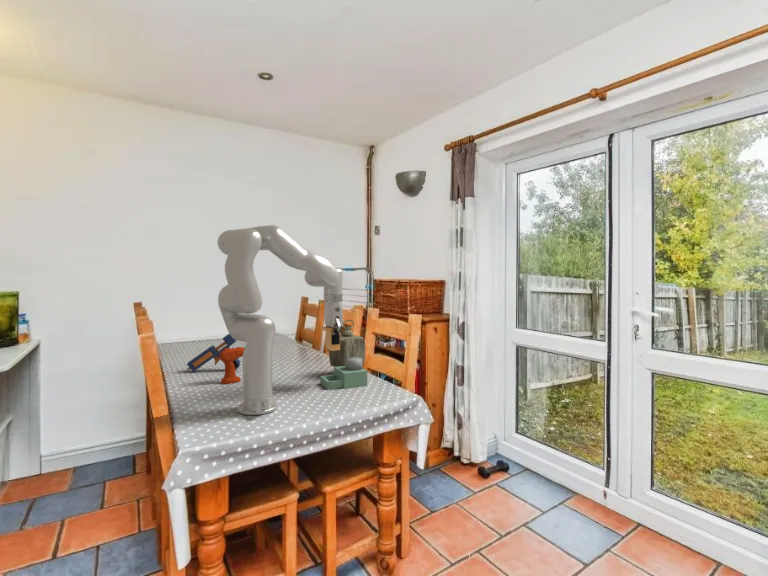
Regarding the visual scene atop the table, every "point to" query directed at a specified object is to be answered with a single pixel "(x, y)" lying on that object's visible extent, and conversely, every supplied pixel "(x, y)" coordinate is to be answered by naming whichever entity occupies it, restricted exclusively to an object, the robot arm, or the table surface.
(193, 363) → the glue gun
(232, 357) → the toy drill
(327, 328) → the orange rectangular block
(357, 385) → the green drawer box
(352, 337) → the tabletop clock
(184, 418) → the table surface
